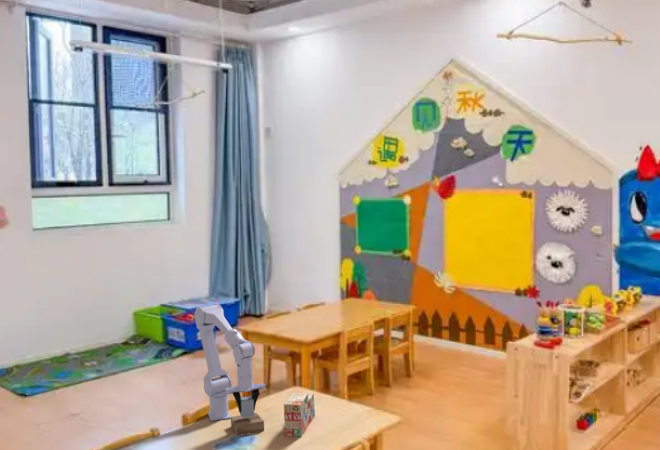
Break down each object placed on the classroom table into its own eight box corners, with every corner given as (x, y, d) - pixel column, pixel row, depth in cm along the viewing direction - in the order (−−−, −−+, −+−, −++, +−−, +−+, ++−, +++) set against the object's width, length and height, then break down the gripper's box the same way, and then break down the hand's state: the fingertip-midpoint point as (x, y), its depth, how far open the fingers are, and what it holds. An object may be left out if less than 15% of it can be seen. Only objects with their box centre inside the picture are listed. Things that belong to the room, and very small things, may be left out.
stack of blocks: (299, 415, 265) (298, 385, 264) (315, 416, 263) (313, 385, 262) (284, 436, 244) (283, 403, 243) (301, 437, 242) (300, 404, 241)
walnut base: (231, 427, 255) (230, 417, 255) (256, 422, 259) (256, 412, 259) (238, 436, 246) (237, 426, 246) (264, 431, 250) (263, 421, 250)
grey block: (239, 413, 254) (239, 397, 253) (251, 411, 255) (251, 396, 255) (242, 417, 249) (241, 401, 249) (254, 415, 251) (253, 400, 250)
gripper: (227, 380, 245) (229, 416, 246) (266, 375, 249) (267, 411, 251) (224, 375, 252) (226, 410, 253) (262, 370, 256) (264, 405, 257)
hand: (246, 410), depth 252 cm, fingers closed on grey block, 4 cm apart
